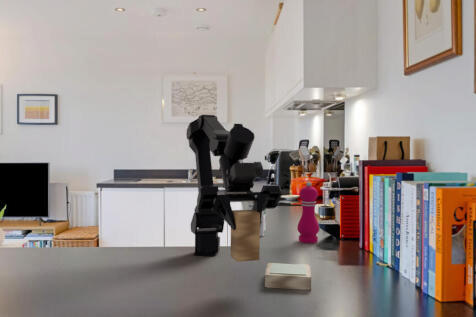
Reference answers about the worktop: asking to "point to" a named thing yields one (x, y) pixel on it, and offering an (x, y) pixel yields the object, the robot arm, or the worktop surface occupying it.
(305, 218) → the pepper mill
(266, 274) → the plinth
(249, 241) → the oak block
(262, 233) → the syrup box
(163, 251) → the worktop surface
